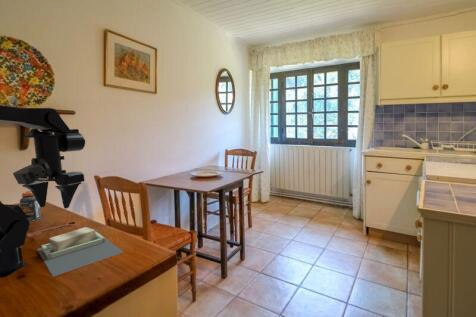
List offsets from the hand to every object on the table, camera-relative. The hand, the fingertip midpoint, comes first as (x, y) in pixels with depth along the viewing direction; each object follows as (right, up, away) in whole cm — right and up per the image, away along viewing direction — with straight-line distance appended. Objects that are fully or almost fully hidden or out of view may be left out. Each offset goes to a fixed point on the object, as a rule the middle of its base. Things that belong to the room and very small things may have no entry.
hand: (54, 207), depth 77 cm
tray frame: (+5, -11, +1) cm, 12 cm away
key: (-12, -11, +16) cm, 23 cm away
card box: (+5, -11, +1) cm, 12 cm away
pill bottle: (-29, -10, +30) cm, 43 cm away
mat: (+9, -12, -3) cm, 15 cm away
